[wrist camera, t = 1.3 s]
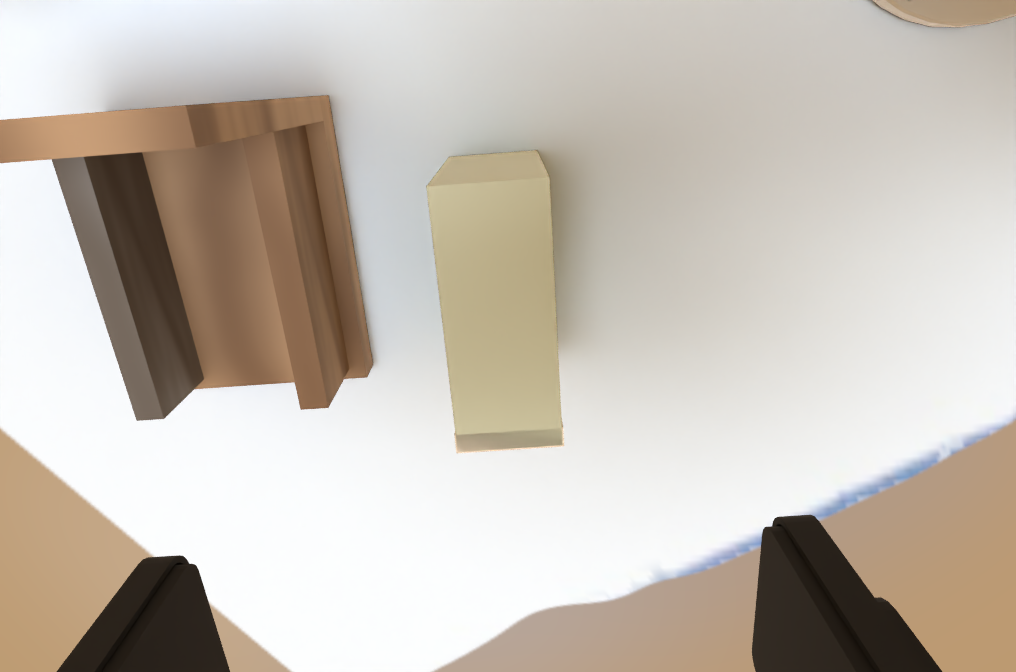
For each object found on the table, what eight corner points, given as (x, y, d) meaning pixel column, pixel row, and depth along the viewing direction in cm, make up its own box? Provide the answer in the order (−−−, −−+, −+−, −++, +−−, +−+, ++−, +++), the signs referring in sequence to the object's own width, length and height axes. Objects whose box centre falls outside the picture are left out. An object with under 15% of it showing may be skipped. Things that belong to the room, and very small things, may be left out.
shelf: (328, 95, 28) (185, 105, 16) (372, 364, 33) (291, 538, 20) (104, 112, 28) (-213, 136, 16) (181, 377, 33) (-17, 558, 21)
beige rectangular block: (537, 150, 29) (551, 177, 21) (548, 353, 33) (563, 446, 24) (447, 156, 29) (424, 186, 21) (468, 359, 33) (456, 453, 24)
